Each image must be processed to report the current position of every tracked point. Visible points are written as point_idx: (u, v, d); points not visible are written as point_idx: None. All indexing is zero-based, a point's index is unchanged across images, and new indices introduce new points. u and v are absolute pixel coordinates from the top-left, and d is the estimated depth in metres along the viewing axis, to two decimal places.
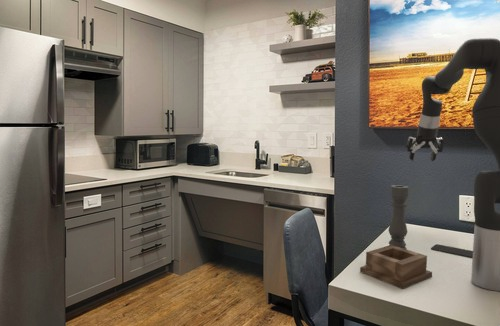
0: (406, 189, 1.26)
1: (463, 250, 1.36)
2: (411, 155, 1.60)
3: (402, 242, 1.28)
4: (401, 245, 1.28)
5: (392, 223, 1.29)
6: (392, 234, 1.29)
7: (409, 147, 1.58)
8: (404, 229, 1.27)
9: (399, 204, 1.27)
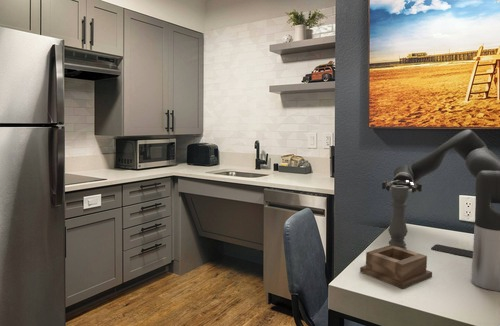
0: (406, 189, 1.26)
1: (463, 250, 1.36)
2: (387, 184, 1.43)
3: (402, 242, 1.28)
4: (401, 245, 1.28)
5: (392, 223, 1.29)
6: (392, 234, 1.29)
7: (384, 182, 1.47)
8: (404, 229, 1.27)
9: (399, 204, 1.27)
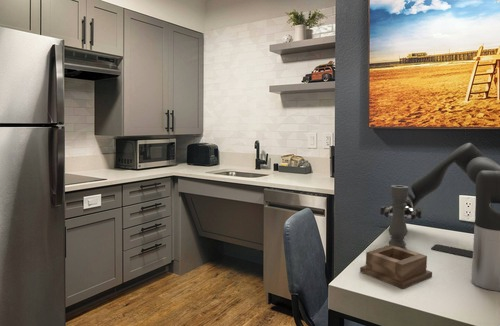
0: (406, 189, 1.26)
1: (463, 250, 1.36)
2: (385, 210, 1.39)
3: (402, 242, 1.28)
4: (401, 245, 1.28)
5: (392, 223, 1.29)
6: (392, 234, 1.29)
7: (382, 207, 1.43)
8: (404, 229, 1.27)
9: (399, 204, 1.27)
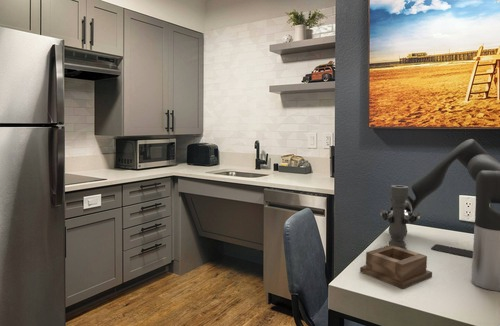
0: (406, 189, 1.26)
1: (463, 250, 1.36)
2: (389, 216, 1.30)
3: (402, 242, 1.28)
4: (401, 245, 1.28)
5: (392, 223, 1.29)
6: (392, 234, 1.29)
7: (384, 212, 1.35)
8: (404, 229, 1.27)
9: (399, 204, 1.27)
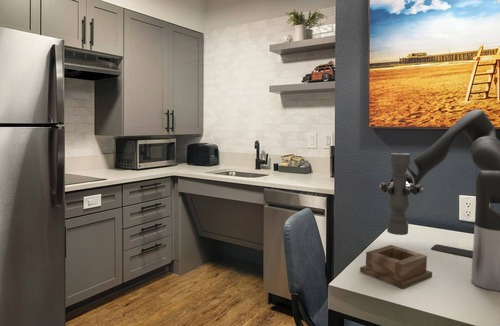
0: (408, 156, 1.13)
1: (463, 250, 1.36)
2: (389, 187, 1.18)
3: (403, 215, 1.16)
4: (402, 219, 1.15)
5: (392, 194, 1.16)
6: (392, 207, 1.16)
7: (384, 183, 1.22)
8: (405, 201, 1.15)
9: (400, 173, 1.14)
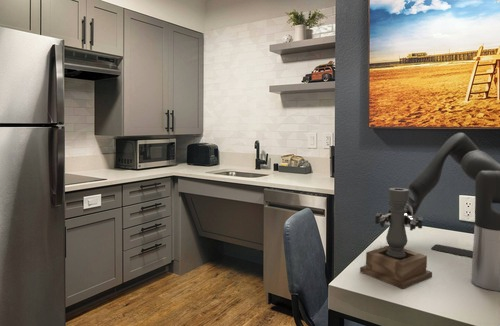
0: (406, 192, 1.11)
1: (463, 250, 1.36)
2: (381, 219, 1.16)
3: (401, 252, 1.13)
4: (400, 256, 1.13)
5: (390, 231, 1.14)
6: (390, 243, 1.13)
7: (377, 214, 1.20)
8: (404, 238, 1.12)
9: (398, 210, 1.11)
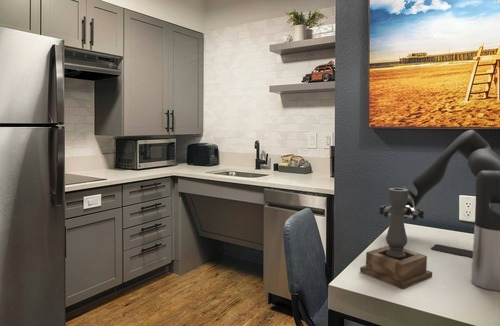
0: (406, 192, 1.11)
1: (463, 250, 1.36)
2: (385, 210, 1.28)
3: (401, 252, 1.13)
4: (400, 256, 1.13)
5: (390, 231, 1.14)
6: (390, 243, 1.13)
7: (381, 206, 1.32)
8: (403, 238, 1.12)
9: (398, 210, 1.11)
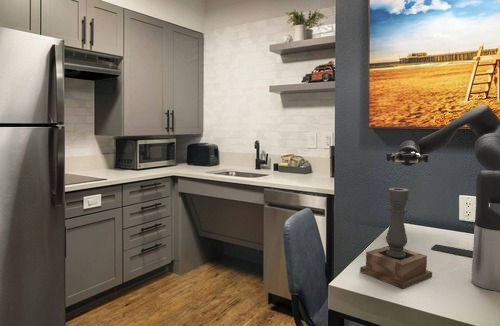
0: (406, 192, 1.11)
1: (463, 250, 1.36)
2: (392, 155, 1.37)
3: (401, 252, 1.13)
4: (400, 256, 1.13)
5: (390, 231, 1.14)
6: (390, 243, 1.13)
7: None
8: (403, 238, 1.12)
9: (398, 210, 1.11)
